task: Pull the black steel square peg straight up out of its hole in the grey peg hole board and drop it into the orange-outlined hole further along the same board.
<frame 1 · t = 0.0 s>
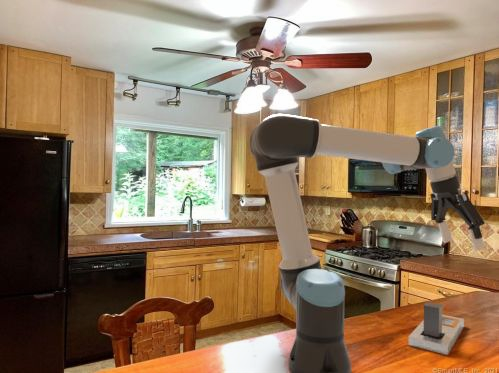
hand: (463, 245, 113), 28 cm above the table, tool tilted 20°, fingers open, 13 cm apart
grey peg hole board: (437, 335, 114), on the table
steel peg: (432, 342, 109), resting in grey peg hole board
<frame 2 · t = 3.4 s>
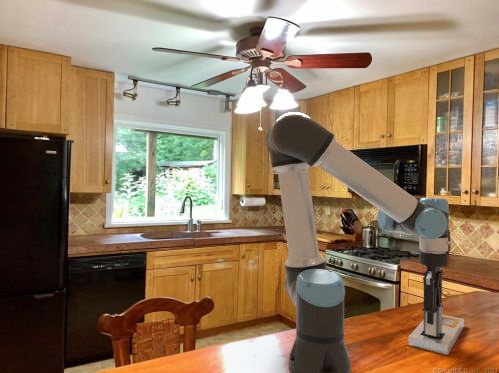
hand: (432, 331, 108), 3 cm above the table, tool pointing down, fingers closed on steel peg, 4 cm apart
steel peg: (432, 342, 108), resting in grey peg hole board, touching gripper
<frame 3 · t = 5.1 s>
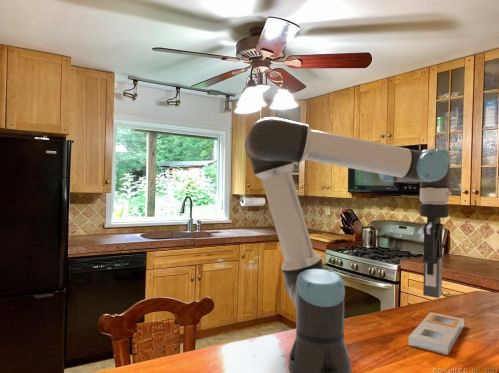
hand: (432, 284, 108), 17 cm above the table, tool pointing down, fingers closed on steel peg, 4 cm apart
steel peg: (432, 295, 108), point 14 cm above the table, touching gripper
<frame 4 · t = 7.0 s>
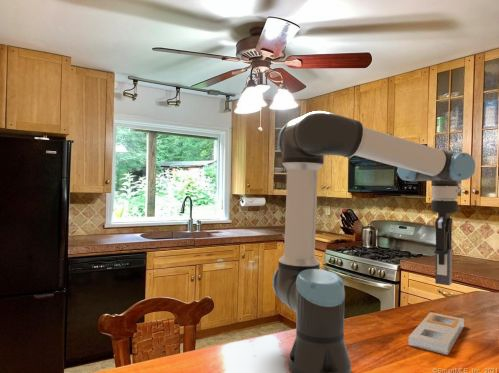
hand: (443, 273, 119), 18 cm above the table, tool pointing down, fingers closed on steel peg, 4 cm apart
steel peg: (443, 283, 119), point 14 cm above the table, touching gripper
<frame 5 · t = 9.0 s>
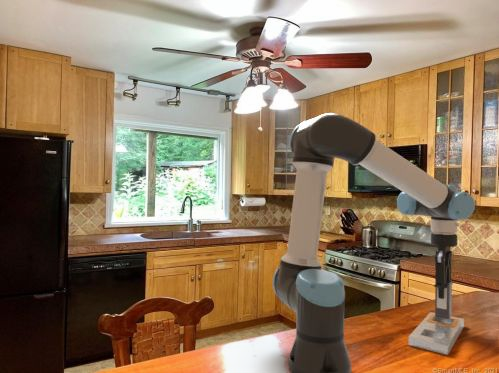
hand: (443, 306, 119), 7 cm above the table, tool pointing down, fingers closed on steel peg, 4 cm apart
steel peg: (443, 316, 119), point 4 cm above the table, touching gripper
when the fingers open (4 cm above the table, at t = 10.5 s): steel peg stays where it is, resting in grey peg hole board.
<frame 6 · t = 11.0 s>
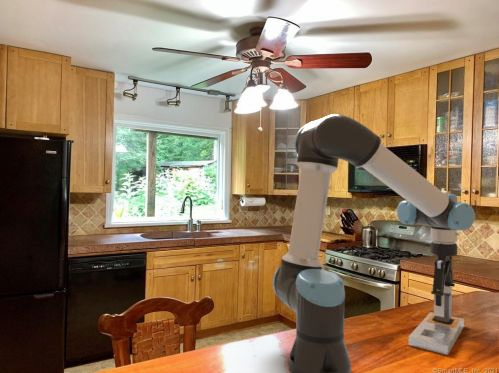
hand: (443, 310, 119), 6 cm above the table, tool pointing down, fingers open, 11 cm apart
steel peg: (442, 328, 119), resting in grey peg hole board
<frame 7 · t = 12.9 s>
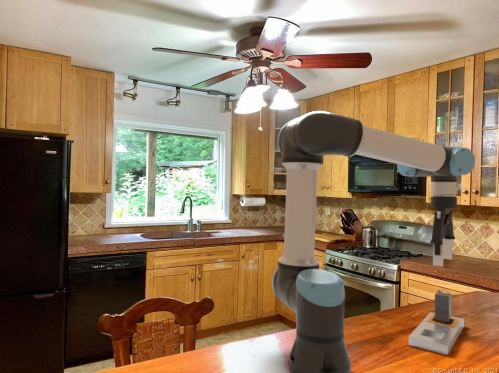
hand: (442, 262, 120), 21 cm above the table, tool pointing down, fingers open, 13 cm apart
nothing on the table moved.
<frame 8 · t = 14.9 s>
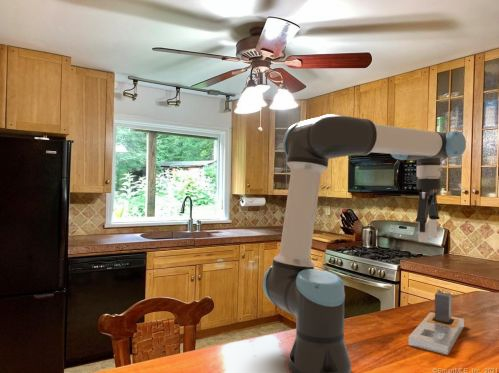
hand: (427, 239, 130), 27 cm above the table, tool pointing down, fingers open, 13 cm apart
nothing on the table moved.
at the end: steel peg 0.1 cm from the target spot on the grey peg hole board, point 0.0 cm above the grey peg hole board's base; steel peg tilted 0°; the gripper is holding nothing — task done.
